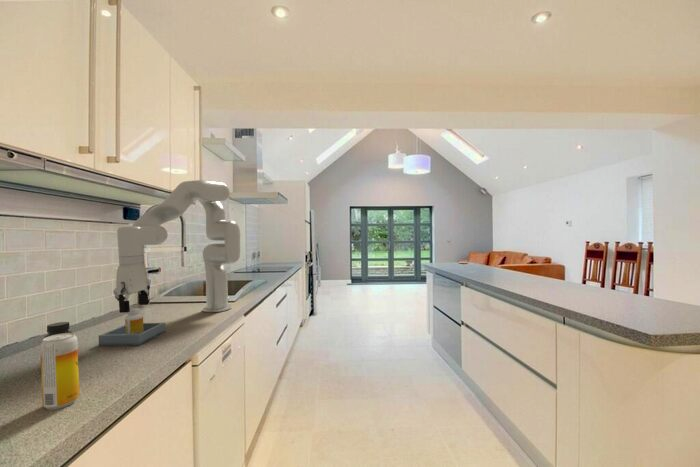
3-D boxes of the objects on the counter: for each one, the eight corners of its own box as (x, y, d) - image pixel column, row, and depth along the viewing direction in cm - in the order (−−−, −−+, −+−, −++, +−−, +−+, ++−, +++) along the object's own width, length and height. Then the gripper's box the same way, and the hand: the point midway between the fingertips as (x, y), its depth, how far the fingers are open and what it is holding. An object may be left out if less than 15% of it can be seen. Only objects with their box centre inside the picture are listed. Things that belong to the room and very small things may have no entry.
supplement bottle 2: (147, 333, 116) (146, 307, 116) (136, 338, 111) (135, 310, 111) (133, 333, 117) (132, 307, 116) (121, 338, 111) (120, 310, 111)
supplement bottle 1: (75, 365, 91) (73, 323, 91) (42, 373, 87) (40, 329, 87) (75, 358, 97) (73, 319, 96) (43, 365, 92) (42, 323, 92)
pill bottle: (85, 394, 75) (83, 331, 74) (67, 409, 69) (64, 340, 68) (56, 397, 74) (54, 333, 73) (34, 412, 68) (32, 342, 67)
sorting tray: (129, 332, 121) (128, 323, 121) (165, 331, 120) (165, 322, 120) (98, 345, 107) (98, 335, 107) (139, 345, 106) (139, 335, 106)
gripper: (138, 258, 122) (141, 302, 123) (102, 264, 105) (105, 315, 105) (157, 257, 122) (160, 301, 122) (124, 263, 104) (127, 315, 105)
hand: (134, 308), depth 114 cm, fingers open, 9 cm apart
